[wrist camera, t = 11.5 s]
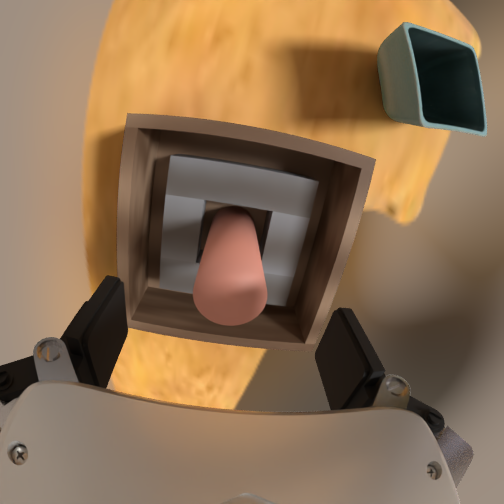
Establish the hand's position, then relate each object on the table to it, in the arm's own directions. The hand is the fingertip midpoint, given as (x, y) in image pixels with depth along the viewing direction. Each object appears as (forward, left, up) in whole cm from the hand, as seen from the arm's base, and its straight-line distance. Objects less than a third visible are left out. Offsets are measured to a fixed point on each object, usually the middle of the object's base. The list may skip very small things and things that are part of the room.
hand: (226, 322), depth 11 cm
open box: (+1, 0, -16) cm, 16 cm away
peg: (+1, 0, -15) cm, 15 cm away
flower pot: (-17, +14, -16) cm, 28 cm away
